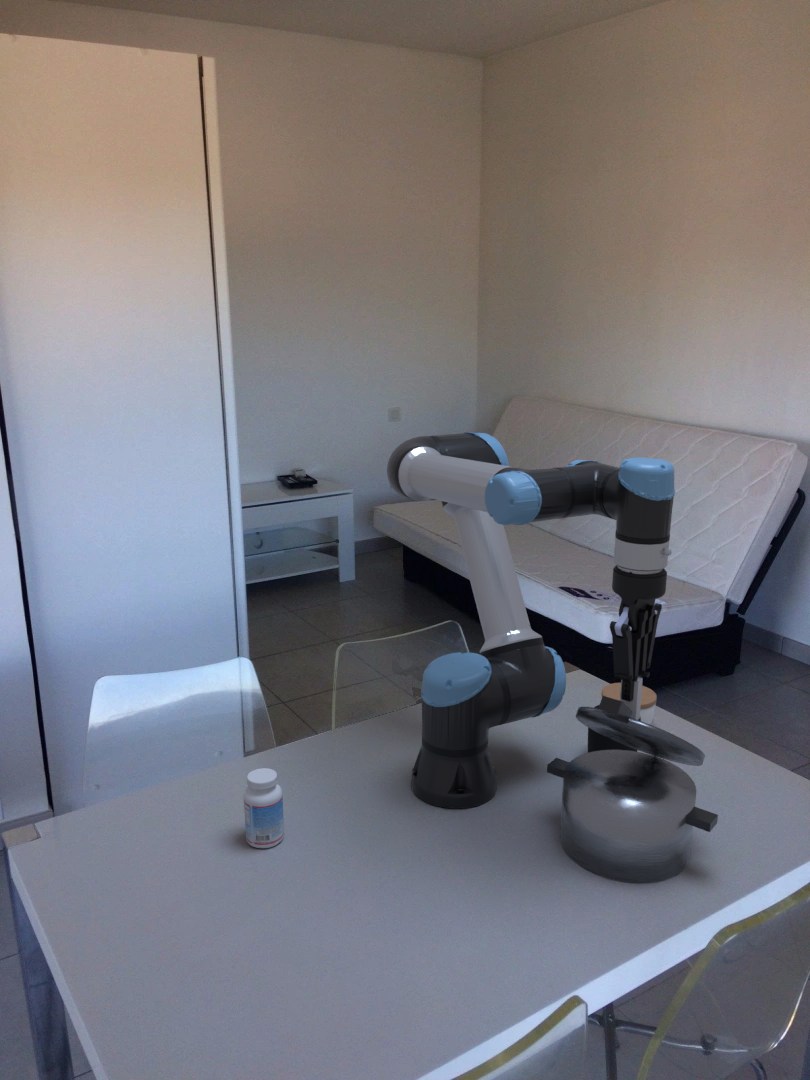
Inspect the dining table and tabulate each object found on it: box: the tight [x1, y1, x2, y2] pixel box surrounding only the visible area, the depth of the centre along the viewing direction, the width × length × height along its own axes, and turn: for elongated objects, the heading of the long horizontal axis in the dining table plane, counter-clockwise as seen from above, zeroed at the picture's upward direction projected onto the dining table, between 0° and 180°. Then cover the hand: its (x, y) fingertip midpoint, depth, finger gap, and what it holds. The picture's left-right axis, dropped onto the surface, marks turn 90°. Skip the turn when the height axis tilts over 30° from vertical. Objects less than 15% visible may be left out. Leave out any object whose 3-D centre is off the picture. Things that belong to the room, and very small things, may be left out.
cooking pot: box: [546, 750, 719, 884], centre depth 138 cm, size 27×20×11 cm
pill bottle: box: [243, 767, 285, 849], centre depth 139 cm, size 6×6×11 cm
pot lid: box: [575, 696, 706, 767], centre depth 135 cm, size 20×24×3 cm
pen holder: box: [587, 704, 641, 753], centre depth 162 cm, size 9×9×10 cm
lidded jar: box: [600, 682, 658, 725], centre depth 176 cm, size 11×11×9 cm
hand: (629, 717), depth 132 cm, fingers closed
